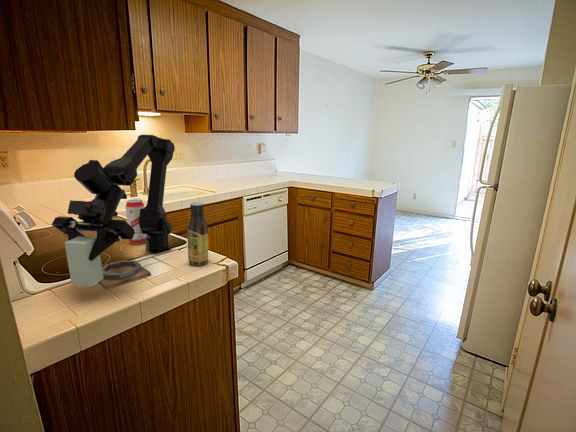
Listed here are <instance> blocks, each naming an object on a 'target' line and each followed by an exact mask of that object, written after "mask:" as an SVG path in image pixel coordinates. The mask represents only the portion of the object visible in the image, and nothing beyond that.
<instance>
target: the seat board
mask: <svg viewBox="0 0 576 432" xmlns="http://www.w3.org/2000/svg"><path fill="white" fill-rule="evenodd" d="M141 268H142V269H141V270H140V271H139V272H138V273H137V274H136V275H135V276H132V277H129V278H125V279H122V280H104V279H102V280H100V281H99V282H98V283H99V284H100V285H101V286H102V287H103V288H104V289H105V290H109V289H112V288H115V287H118V286H122V285H125V284H128V283H131V282H135V281H139V280H141V279H144V278H148V277H152V273H151V271H149V270H148V269H146V268H145V267H144V266H143V265H141ZM132 269H134V267H133V266H121V267H118V268H114V269H110V270H109V271H108V272H107V273H123V272H126V271H130V270H132Z"/></svg>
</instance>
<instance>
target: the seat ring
mask: <svg viewBox="0 0 576 432" xmlns="http://www.w3.org/2000/svg"><path fill="white" fill-rule="evenodd" d="M121 266H133V267H134V269H132V270H130V271H126V272H123V273H107V272H108V271H109V270H110V269H114V268H118V267H121ZM141 266H142V264H141V263H139V262H138V261H136V260H123V259H122V260H118V261H113V262H110V263H109V262H108V263H106V264H105V265H104V266H102V271H103V279H104V280H122V279H125V278H129V277H132V276H135V275H136V274H137V273H138V272H139V271H140V270H141V269H142V268H141Z"/></svg>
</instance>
